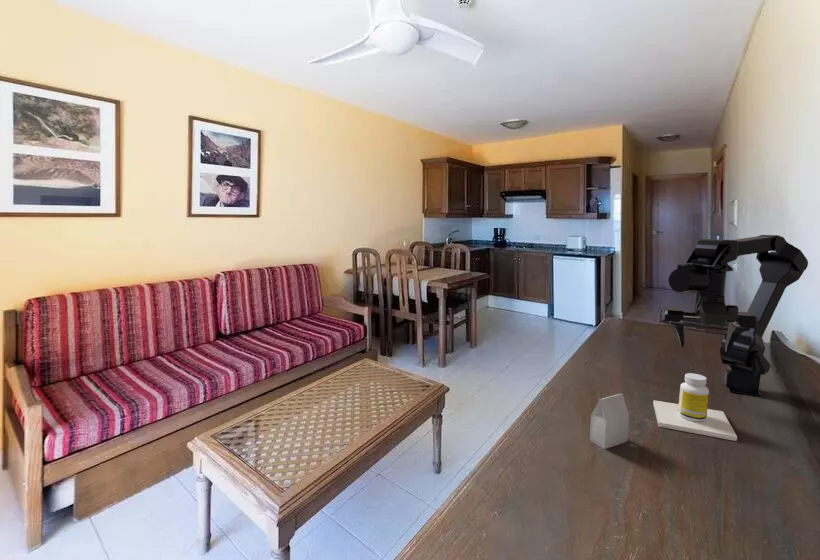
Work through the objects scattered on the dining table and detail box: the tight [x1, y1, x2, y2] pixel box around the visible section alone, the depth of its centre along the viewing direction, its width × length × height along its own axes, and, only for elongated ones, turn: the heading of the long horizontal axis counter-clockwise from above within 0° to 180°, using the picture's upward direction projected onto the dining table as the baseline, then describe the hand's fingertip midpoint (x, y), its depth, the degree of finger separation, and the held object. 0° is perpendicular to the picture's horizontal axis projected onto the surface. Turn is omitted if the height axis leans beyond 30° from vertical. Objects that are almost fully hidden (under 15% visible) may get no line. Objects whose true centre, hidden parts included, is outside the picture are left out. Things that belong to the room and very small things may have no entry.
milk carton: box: [589, 392, 630, 450], centre depth 83 cm, size 4×7×10 cm, turn 114°
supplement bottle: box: [678, 372, 710, 422], centre depth 90 cm, size 5×5×10 cm
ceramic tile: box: [652, 400, 738, 442], centre depth 90 cm, size 14×12×1 cm
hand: (704, 349), depth 100 cm, fingers open, 9 cm apart
